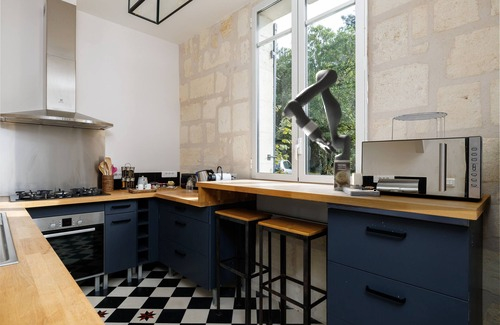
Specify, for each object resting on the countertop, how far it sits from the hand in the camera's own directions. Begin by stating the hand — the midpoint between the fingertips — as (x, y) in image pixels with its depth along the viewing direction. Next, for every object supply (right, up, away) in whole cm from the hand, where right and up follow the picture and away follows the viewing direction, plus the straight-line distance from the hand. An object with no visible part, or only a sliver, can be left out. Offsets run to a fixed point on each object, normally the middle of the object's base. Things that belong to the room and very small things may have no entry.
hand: (333, 152), depth 149 cm
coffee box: (+9, -21, +11) cm, 25 cm away
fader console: (+11, -21, -7) cm, 25 cm away
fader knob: (+12, -19, -1) cm, 22 cm away
